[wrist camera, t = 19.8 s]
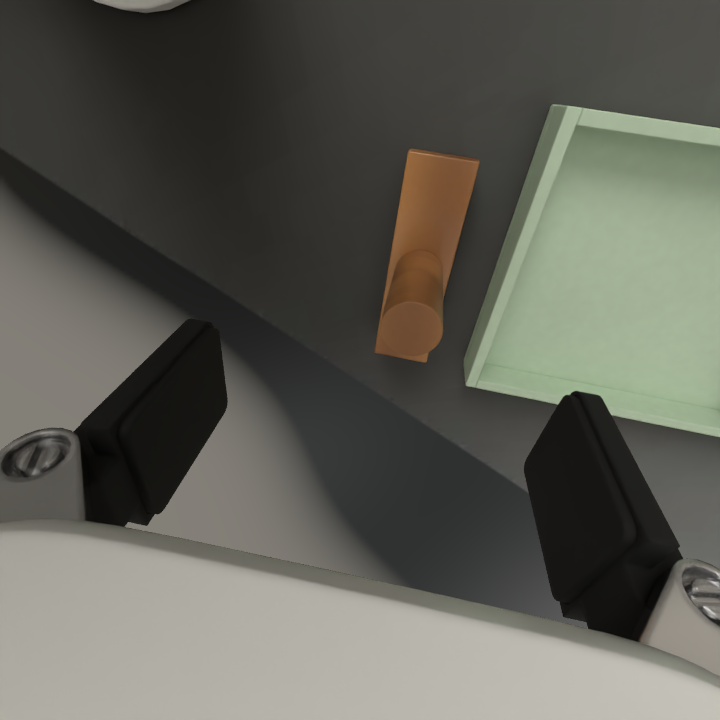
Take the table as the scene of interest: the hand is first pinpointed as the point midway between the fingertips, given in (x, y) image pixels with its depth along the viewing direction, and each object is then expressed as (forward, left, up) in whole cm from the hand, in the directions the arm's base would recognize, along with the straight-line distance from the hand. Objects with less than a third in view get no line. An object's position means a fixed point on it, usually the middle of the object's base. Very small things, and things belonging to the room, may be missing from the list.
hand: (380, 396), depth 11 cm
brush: (+1, -1, -14) cm, 14 cm away
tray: (+15, 0, -14) cm, 20 cm away
